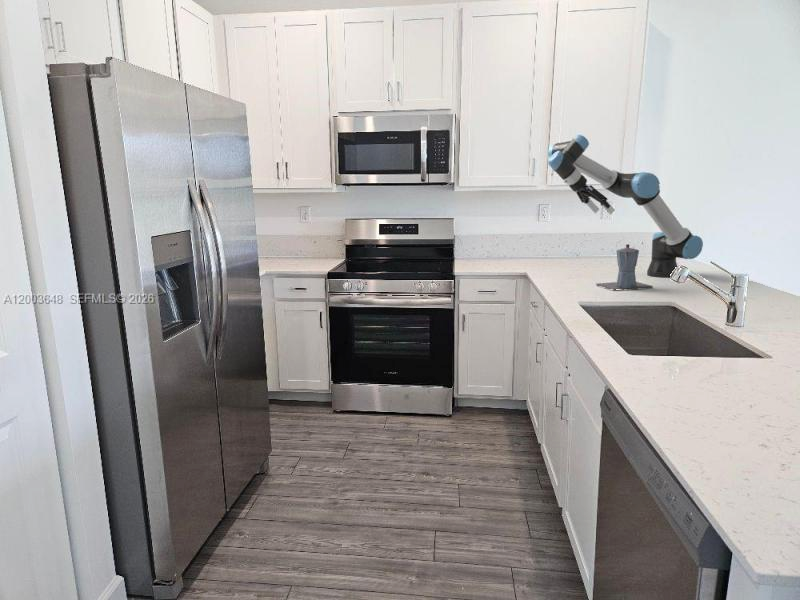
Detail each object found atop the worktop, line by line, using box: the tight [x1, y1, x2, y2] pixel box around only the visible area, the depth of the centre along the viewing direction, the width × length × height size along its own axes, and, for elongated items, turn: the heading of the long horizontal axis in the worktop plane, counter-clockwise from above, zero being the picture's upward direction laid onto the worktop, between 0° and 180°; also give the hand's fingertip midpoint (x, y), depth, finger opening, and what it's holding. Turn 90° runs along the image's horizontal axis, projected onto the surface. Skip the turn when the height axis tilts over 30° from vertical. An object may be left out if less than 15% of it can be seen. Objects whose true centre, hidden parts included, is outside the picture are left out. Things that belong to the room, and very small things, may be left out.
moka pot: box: [616, 243, 640, 288], centre depth 245 cm, size 10×15×20 cm, turn 160°
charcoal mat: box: [595, 281, 653, 290], centre depth 252 cm, size 20×15×1 cm
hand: (604, 211), depth 244 cm, fingers open, 13 cm apart
